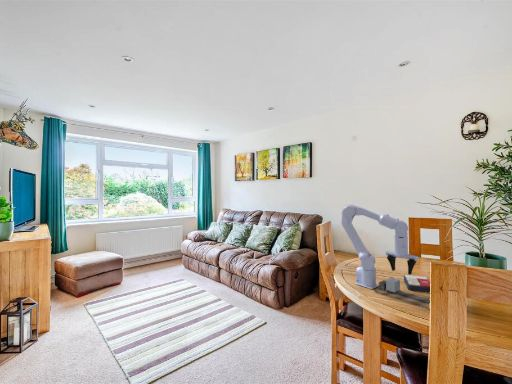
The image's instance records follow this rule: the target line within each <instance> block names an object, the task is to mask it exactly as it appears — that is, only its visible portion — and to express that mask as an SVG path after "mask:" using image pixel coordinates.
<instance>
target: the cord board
mask: <svg viewBox="0 0 512 384" xmlns="http://www.w3.org/2000/svg"><path fill="white" fill-rule="evenodd" d="M378 285H379V286H378V287H377V288H376V289H374V293H377V294H380V295H382V296H384V297H385V296H386V297H388V298H391V299H395V300H398V301H402V302H404V303H408V304H410V303H411V305H414V306H417V305H418V306H417V307H420V306H422V307H421V308H423V307H425V308H424V309H426V308H428V309H427V310H429V303H430V300H429V299H430V298H428V297H426V296H422V295H419V294H415V293H412V292H408V291H405V290H401V289H400V290H399V291H397V292H395V293H394V292H391V291H388V290H386V280H381V281H378Z"/></svg>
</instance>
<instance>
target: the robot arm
mask: <svg viewBox="0 0 512 384" xmlns="http://www.w3.org/2000/svg"><path fill="white" fill-rule="evenodd" d="M355 216H364V217H367V218H369V219H372V220H374V221H376V222H378V225H380V226H382V227H385V228H388V229H390V230H394V231H395V234H394V251H389V250H387V251H385V255H386V259H387V261H388V262H389V265H390V268H391V271H392V272H394V271H396V260H397V258H399V259H405V260H406V263H407V272H408V273H407V275H412V273H413V269H414V268H415V267H414V266H415V265H416V264H417V262H418V261H419V256H417V255H413V254H410V253H409V237H408V231H409V226H408V224H407V223H406V222H405V221H404V220H400V219H399V218H394V217H392V216H390V214H388V213H386V214H385V213H384V214H381V215H380V214H378V213H375V212H373V211H371V210H368V209H366V208H364V207H361V206H358V205H357V206H356V205H354V204H349V205H345V206H344V207H343V209H342V212H341V226H342V227H343V228H344V231H345V232H346V234H347V236H348V238H349V240H350V241H351V243H352V245H353V247H354V249H355V251H356V252H357V255H358V259H359V260H360V266H358V267H357V268H356V270H355V283H354V284H355V285H357V286H361V287H365V288H367V289H371V290H373V289H375V288H376V289H377V288H379V283H377V268H376V267H375V264H376V257H374V256H373V254H371V253H370V251H369V250H368V248H366V246H365V243H364V242H363V241H362V238H361V237H360V235H359V234H358V232H357V230H356V228H355V226H354V225H353V220H354V217H355Z"/></svg>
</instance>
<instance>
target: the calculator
mask: <svg viewBox="0 0 512 384" xmlns="http://www.w3.org/2000/svg"><path fill="white" fill-rule="evenodd" d="M403 282H404V284H405V286H406V288H407V290H408V291H411V292H417V291H418V292H419V293H425V292H427V293H426V294H430V293H429V292H430V283H431V281H430V279H429V278H428V277H426V276H421V275H412V274H411V275H409V274H403Z"/></svg>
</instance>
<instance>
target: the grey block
mask: <svg viewBox="0 0 512 384" xmlns="http://www.w3.org/2000/svg"><path fill="white" fill-rule="evenodd" d="M385 281H386V290H388V291H391V292H394V293H395V292H397V291H399V290H401V279H400V278H394V277H389V278H386V280H385Z"/></svg>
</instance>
